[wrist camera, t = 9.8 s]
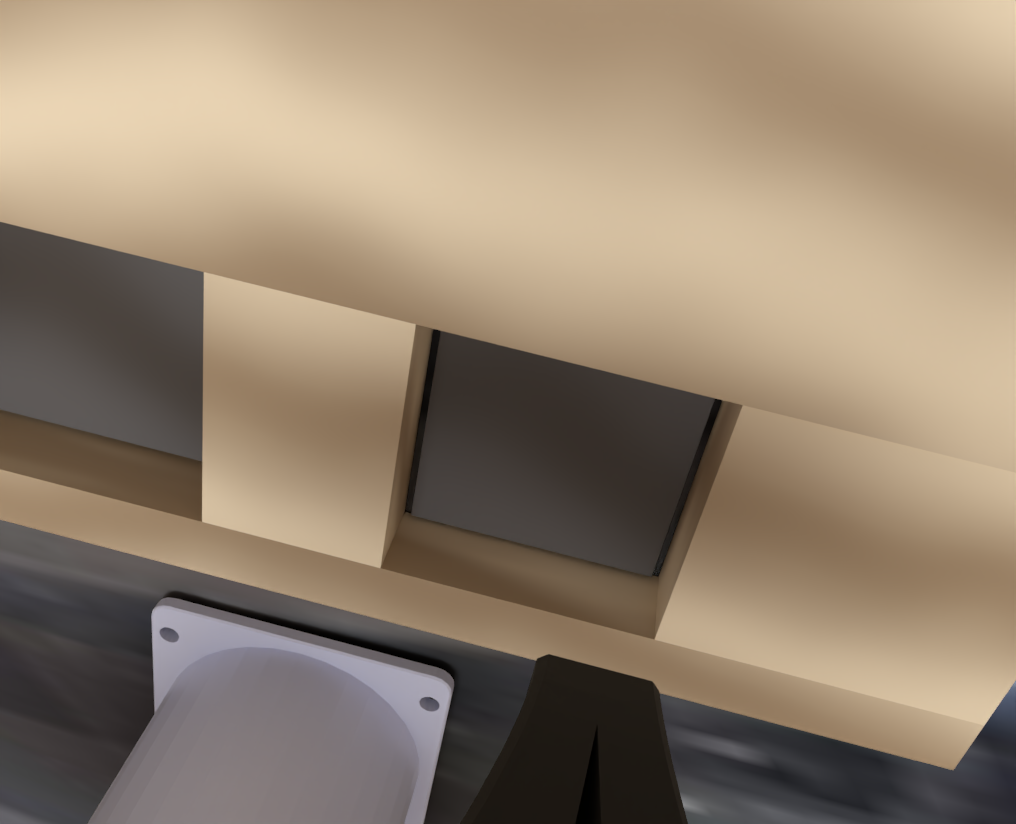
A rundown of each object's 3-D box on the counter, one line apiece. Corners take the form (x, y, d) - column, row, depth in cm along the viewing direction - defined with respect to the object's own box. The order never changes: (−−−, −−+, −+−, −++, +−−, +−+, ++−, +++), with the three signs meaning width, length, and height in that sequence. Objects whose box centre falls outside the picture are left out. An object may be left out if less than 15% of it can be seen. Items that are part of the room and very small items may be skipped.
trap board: (934, 698, 23) (953, 770, 21) (-264, 388, 24) (-336, 431, 22) (1506, -201, 13) (1628, -203, 11) (-578, -635, 14) (-750, -695, 13)
